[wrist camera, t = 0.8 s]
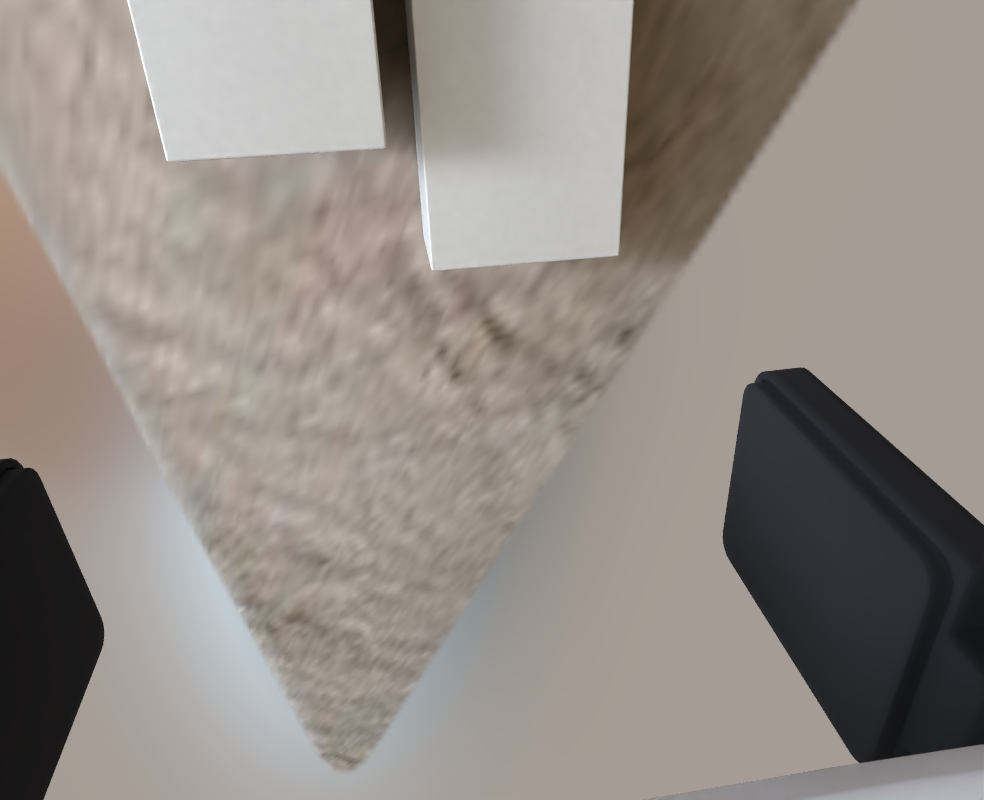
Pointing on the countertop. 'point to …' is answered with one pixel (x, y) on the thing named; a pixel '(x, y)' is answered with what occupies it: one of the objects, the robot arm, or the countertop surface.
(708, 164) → the countertop surface
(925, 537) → the robot arm
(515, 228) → the white books
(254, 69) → the white book
